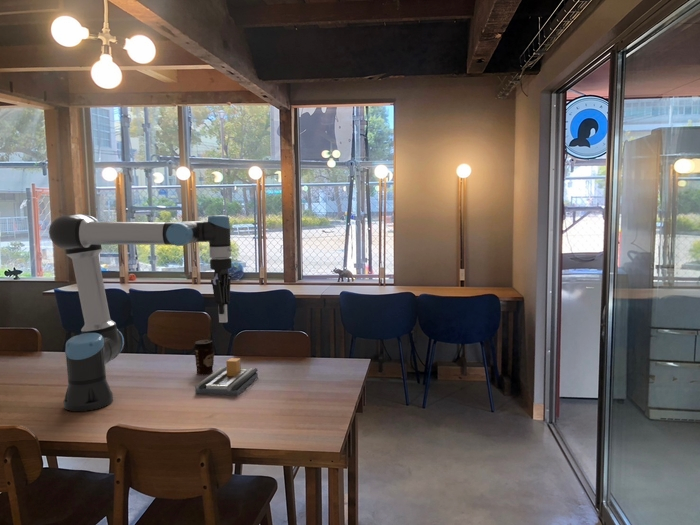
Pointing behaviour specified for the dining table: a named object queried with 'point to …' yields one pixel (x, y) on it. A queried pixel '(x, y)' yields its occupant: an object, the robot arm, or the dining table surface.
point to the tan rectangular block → (233, 366)
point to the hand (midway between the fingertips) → (223, 322)
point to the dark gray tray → (234, 384)
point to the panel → (226, 384)
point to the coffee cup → (204, 356)
